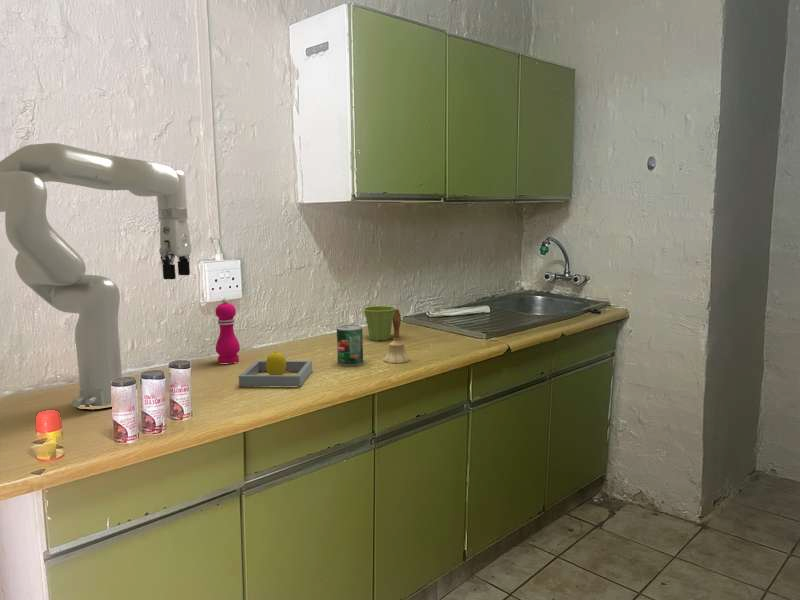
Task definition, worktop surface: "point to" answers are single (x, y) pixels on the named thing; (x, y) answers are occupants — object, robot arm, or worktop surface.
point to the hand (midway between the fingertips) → (177, 277)
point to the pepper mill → (227, 333)
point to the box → (276, 380)
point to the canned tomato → (349, 345)
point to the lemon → (276, 364)
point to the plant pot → (379, 321)
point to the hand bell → (396, 343)
